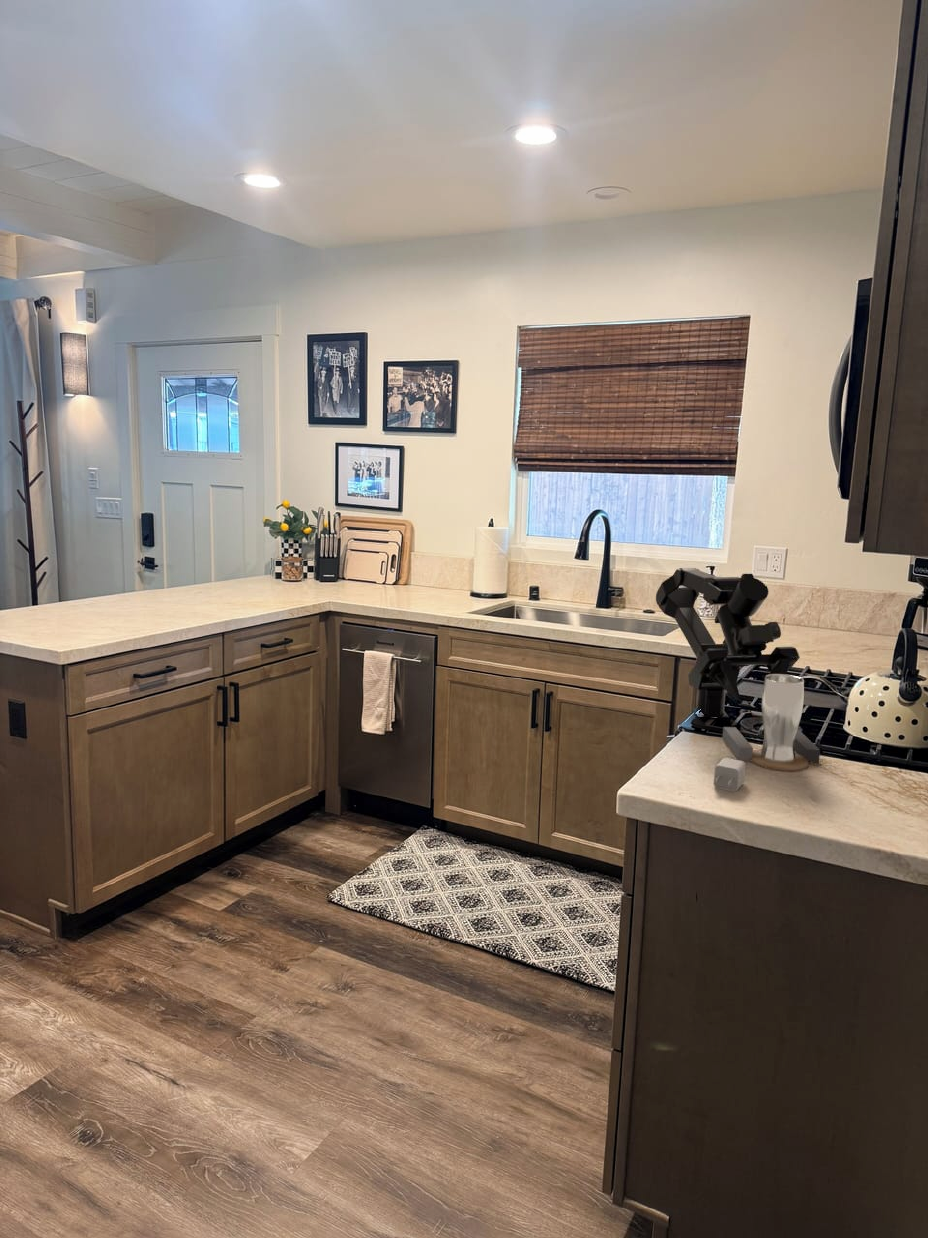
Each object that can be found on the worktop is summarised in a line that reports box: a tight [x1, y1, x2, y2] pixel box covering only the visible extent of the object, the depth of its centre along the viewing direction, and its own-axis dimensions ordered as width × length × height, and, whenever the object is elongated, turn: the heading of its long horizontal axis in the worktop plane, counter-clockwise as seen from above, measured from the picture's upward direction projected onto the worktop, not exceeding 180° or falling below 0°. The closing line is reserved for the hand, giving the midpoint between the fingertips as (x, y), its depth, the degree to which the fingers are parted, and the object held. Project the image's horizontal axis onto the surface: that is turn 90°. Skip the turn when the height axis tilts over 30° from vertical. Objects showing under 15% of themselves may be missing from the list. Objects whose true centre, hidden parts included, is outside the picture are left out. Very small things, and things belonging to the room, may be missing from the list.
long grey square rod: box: [795, 729, 821, 763], centre depth 157 cm, size 12×2×2 cm, turn 177°
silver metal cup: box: [760, 674, 805, 764], centre depth 151 cm, size 7×7×15 cm
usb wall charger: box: [713, 757, 746, 793], centre depth 139 cm, size 4×7×4 cm, turn 148°
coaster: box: [751, 748, 809, 772], centre depth 152 cm, size 10×10×1 cm
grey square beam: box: [721, 726, 754, 762], centre depth 158 cm, size 12×2×2 cm, turn 177°
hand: (760, 698), depth 158 cm, fingers open, 9 cm apart
